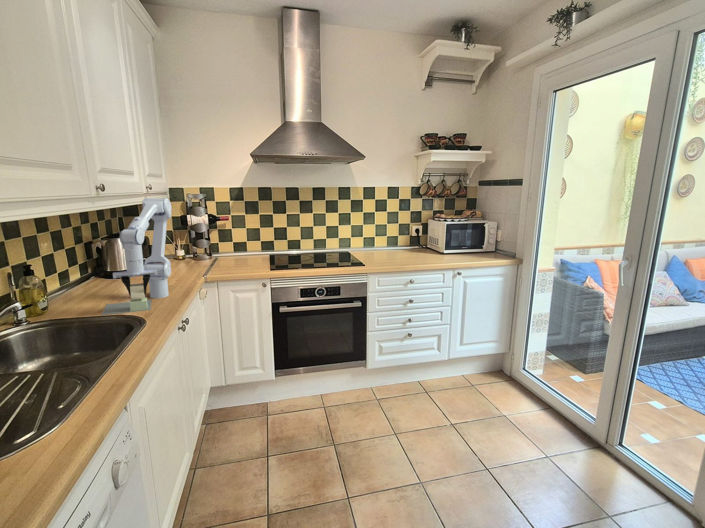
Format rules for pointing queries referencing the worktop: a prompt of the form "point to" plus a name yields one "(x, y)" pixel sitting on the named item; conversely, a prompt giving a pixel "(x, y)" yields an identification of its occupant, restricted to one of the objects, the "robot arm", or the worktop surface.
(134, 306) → the base block
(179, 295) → the worktop surface
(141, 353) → the worktop surface
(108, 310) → the build plate
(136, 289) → the cream block
